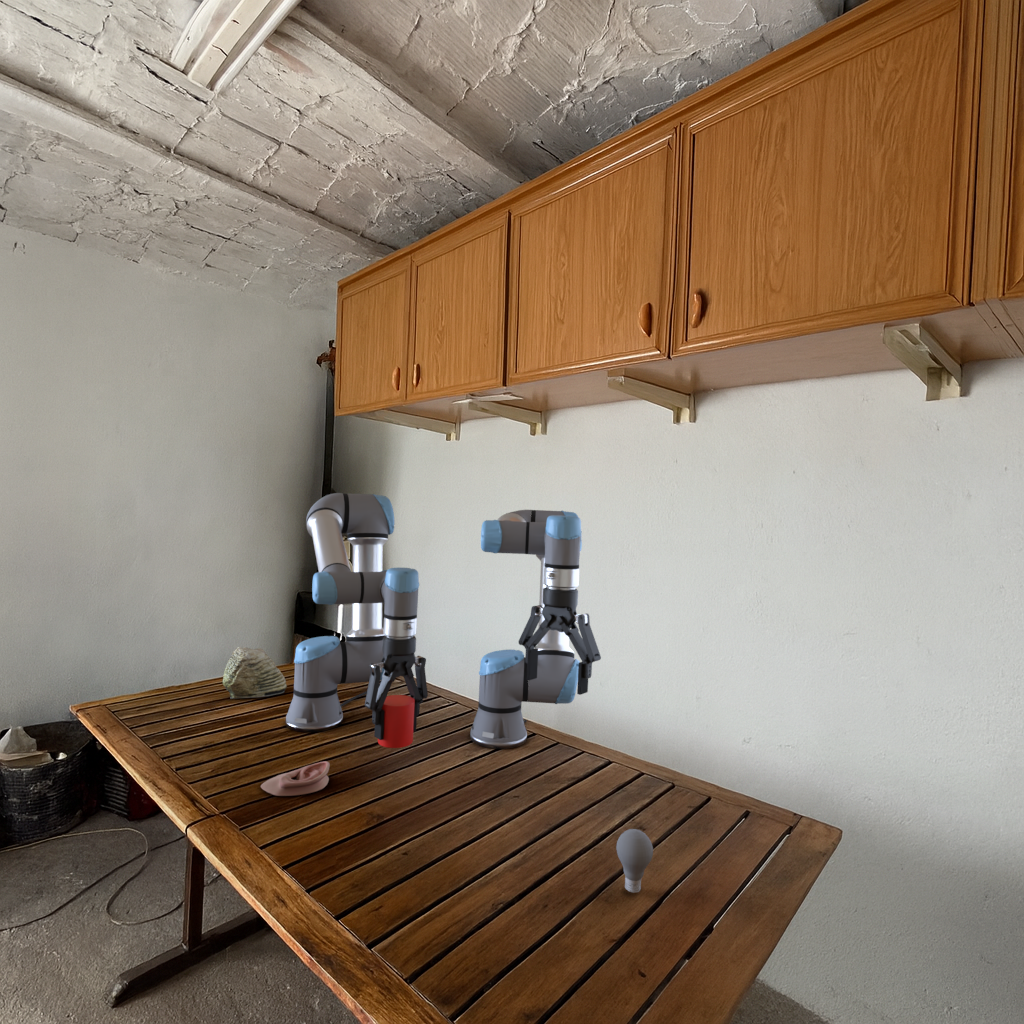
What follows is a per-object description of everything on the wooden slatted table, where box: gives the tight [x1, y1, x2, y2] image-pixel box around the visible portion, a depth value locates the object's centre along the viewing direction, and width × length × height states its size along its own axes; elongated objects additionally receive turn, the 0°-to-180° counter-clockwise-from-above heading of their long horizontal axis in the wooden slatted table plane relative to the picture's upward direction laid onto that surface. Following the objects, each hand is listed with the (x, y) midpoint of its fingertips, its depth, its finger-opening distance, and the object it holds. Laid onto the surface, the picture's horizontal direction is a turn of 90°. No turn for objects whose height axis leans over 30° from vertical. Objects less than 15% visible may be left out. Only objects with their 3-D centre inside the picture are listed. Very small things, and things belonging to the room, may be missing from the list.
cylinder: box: [377, 694, 415, 749], centre depth 146 cm, size 8×8×10 cm
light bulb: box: [615, 828, 654, 894], centre depth 106 cm, size 6×6×10 cm
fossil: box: [222, 646, 288, 699], centre depth 198 cm, size 9×18×15 cm, turn 132°
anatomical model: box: [260, 760, 331, 797], centre depth 138 cm, size 13×4×12 cm
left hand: (395, 733), depth 146 cm, fingers closed on cylinder, 8 cm apart
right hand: (556, 685), depth 136 cm, fingers open, 13 cm apart
